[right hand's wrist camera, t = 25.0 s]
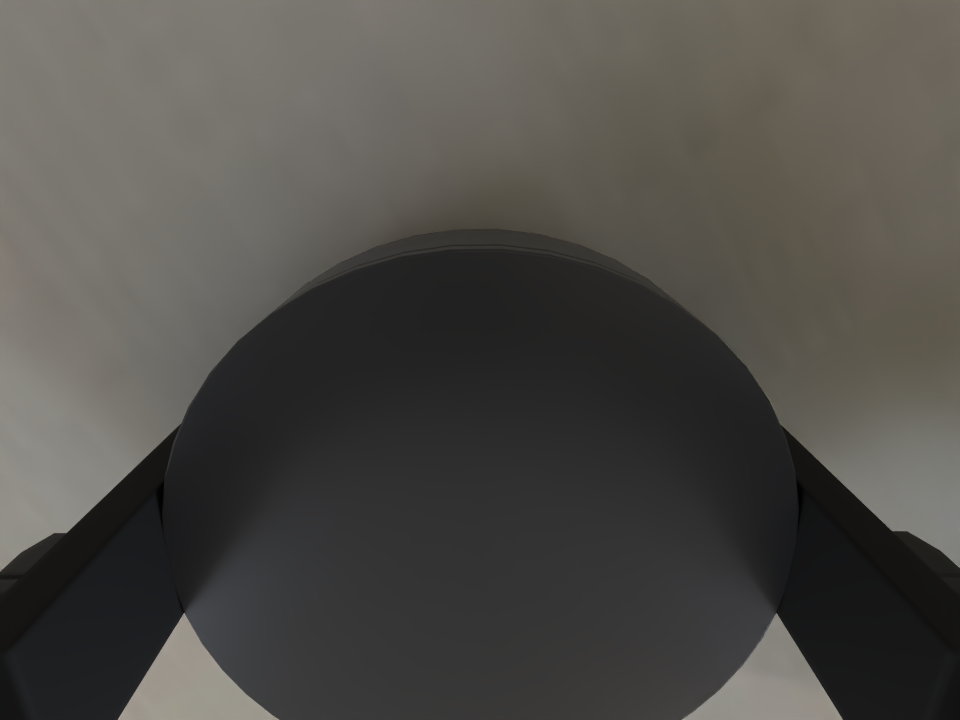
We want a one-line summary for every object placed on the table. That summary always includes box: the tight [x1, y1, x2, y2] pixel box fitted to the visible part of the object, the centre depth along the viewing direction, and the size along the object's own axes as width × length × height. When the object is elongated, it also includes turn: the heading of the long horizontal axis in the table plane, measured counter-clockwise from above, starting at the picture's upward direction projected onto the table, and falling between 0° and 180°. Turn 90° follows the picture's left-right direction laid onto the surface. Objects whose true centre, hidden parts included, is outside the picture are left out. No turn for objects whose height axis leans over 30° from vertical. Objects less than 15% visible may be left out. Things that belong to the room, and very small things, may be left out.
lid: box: [162, 229, 799, 720], centre depth 12 cm, size 11×11×2 cm
